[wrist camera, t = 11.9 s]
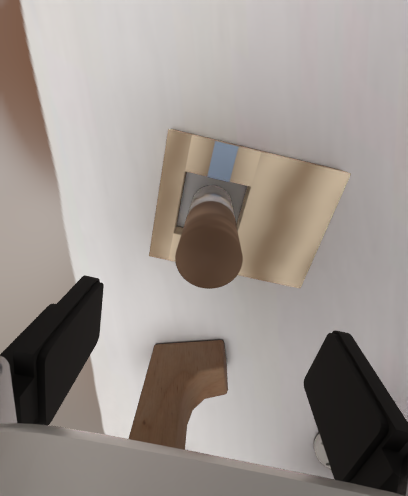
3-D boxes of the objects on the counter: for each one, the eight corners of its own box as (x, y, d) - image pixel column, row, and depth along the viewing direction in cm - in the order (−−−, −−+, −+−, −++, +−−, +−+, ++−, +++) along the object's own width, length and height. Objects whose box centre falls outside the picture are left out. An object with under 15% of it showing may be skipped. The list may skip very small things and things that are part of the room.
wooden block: (223, 338, 34) (230, 536, 18) (226, 364, 36) (236, 566, 19) (153, 343, 35) (98, 537, 18) (160, 368, 37) (115, 565, 20)
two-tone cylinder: (236, 190, 26) (251, 236, 15) (226, 227, 28) (232, 294, 17) (196, 180, 26) (181, 221, 15) (188, 219, 28) (170, 281, 17)
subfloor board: (341, 170, 25) (352, 174, 23) (295, 278, 30) (300, 289, 28) (171, 129, 24) (167, 129, 22) (153, 247, 29) (148, 256, 27)
